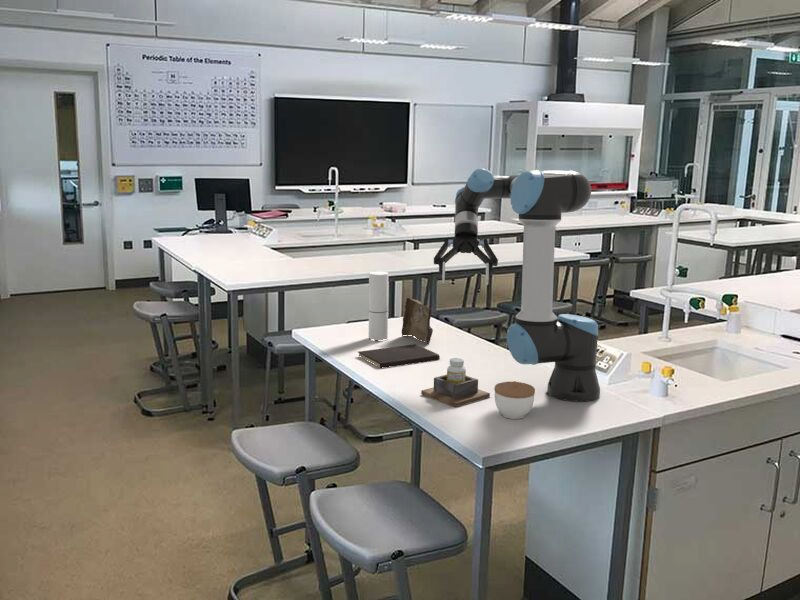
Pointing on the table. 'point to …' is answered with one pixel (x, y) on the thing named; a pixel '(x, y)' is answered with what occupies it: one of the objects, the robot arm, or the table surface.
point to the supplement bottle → (456, 371)
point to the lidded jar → (514, 399)
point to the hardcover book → (399, 355)
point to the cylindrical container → (378, 305)
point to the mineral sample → (417, 320)
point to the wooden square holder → (455, 391)
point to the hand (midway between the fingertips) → (465, 281)
